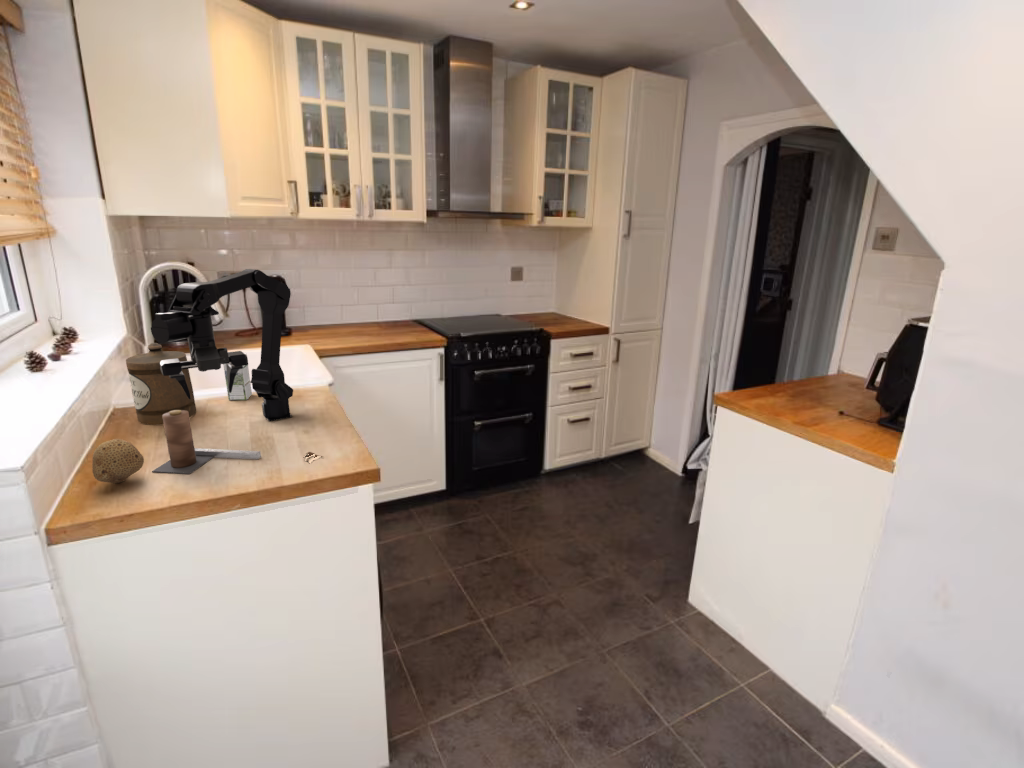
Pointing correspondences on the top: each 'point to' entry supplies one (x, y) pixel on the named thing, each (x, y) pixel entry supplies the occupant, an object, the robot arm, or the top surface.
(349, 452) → the top surface
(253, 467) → the top surface
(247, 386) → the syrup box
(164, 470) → the grey square plate
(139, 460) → the natural sponge
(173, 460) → the brown thread spool
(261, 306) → the robot arm
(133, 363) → the wooden container
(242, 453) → the steel straightedge
